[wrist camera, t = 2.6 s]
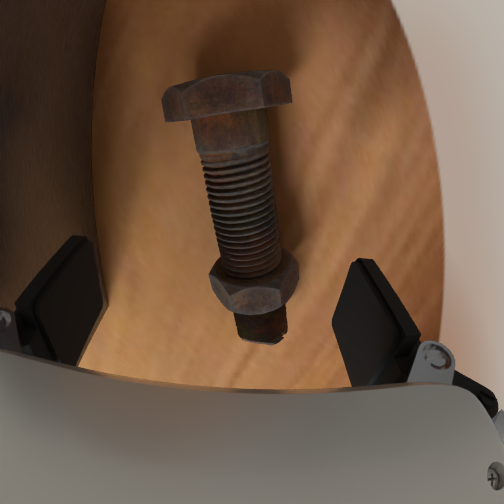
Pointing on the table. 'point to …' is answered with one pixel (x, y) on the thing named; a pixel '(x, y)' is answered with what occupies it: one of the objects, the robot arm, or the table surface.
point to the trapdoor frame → (45, 136)
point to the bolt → (241, 194)
